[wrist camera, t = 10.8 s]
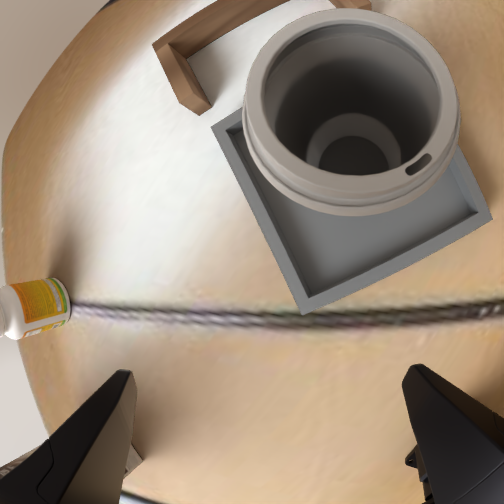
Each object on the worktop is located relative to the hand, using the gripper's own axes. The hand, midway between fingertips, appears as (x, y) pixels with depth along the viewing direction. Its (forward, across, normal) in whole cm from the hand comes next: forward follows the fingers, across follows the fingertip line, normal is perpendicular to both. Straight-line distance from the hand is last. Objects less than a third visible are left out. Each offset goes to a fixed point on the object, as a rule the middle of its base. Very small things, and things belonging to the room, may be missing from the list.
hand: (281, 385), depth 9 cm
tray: (+13, -6, -5) cm, 15 cm away
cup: (+12, -6, -5) cm, 14 cm away
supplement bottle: (+19, +20, +11) cm, 30 cm away
